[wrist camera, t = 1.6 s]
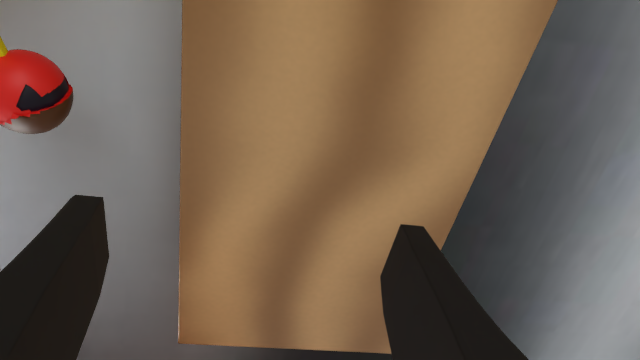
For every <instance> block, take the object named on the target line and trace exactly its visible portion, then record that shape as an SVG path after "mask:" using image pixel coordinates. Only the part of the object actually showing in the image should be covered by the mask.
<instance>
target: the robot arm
mask: <svg viewBox="0 0 640 360" xmlns="http://www.w3.org/2000/svg"><path fill="white" fill-rule="evenodd" d="M108 259H109V250H108V241H107V231H106V221H105V211H104V201H103V197H94V196H83V195H75V196H73V197H72V198H70V200H69V201H68V202H67V203H66V204H65V205H64V206H63V208H62V209H61V210H60V211H59V212H58V213H57V214H56V216H55V217H54V218H53V219H52V220H51V221H50V222H49V223H48V224H47V225H46V227H45V228H44V229H43V230H42V231H41V232H40V233H39V234H38V235H37V236H36V237H35V238H34V239H33V240H32V241H31V242H30V243H29V244H28V245H27V246H26V247H25V248H24V249H23V250H22V251H21V252H20V253H19V254H18V255H17V256H16V257H15V258H14V259H13V260H12V261H11V262H10V263H9V264H8V265H7V266H6V267H5V268H4V269H3V270H2V271H1V272H0V360H76V359H77V356H78V353H79V351H80V348H81V345H82V343H83V340H84V337H85V335H86V332H87V329H88V327H89V324H90V321H91V318H92V316H93V313H94V310H95V308H96V305H97V302H98V299H99V297H100V293H101V289H102V285H103V281H104V277H105V272H106V268H107V264H108ZM380 281H381V295H382V306H383V315H384V320H385V325H386V330H387V335H388V339H389V344H390V349H391V354H392V358H393V360H528V358H527V357H526V356H525V355H524V354H523V353H522V352H521V351H520V350H519V349H518V348H517V347H516V346H515V345H514V344H513V343H512V342H511V341H510V340H509V339H508V337H507V336H506V335H505V334H504V333H503V332H502V331H501V330H500V328H499V327H498V326H497V325H496V324H495V323H494V321H493V320H492V319H491V318H490V317H489V315H488V314H487V313H486V312H485V311H484V309H483V308H482V307H481V306H480V304H479V303H478V302H477V300H476V299H475V298H474V296H473V295H472V294H471V292H470V291H469V290H468V288H467V287H466V286H465V284H464V283H463V282H462V280H461V279H460V278H459V276H458V275H457V274H456V272H455V271H454V269H453V268H452V266H451V265H450V264H449V262H448V261H447V259H446V258H445V256H444V255H443V254H442V252H441V251H440V249H439V248H438V246H437V245H436V243H435V242H434V241H433V239H432V238H431V236H430V235H429V233H428V232H427V230H426V229H425V228H424V226H416V225H405V224H400V227H399V229H398V232H397V234H396V237H395V240H394V242H393V245H392V247H391V250H390V252H389V255H388V258H387V260H386V263H385V265H384V268H383V270H382V273H381V276H380Z"/></svg>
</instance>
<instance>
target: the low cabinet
mask: <svg viewBox="0 0 640 360" xmlns="http://www.w3.org/2000/svg"><path fill="white" fill-rule="evenodd" d="M557 1H558V0H182V67H181V147H180V227H179V308H178V343H179V344H200V345H221V346H242V347H263V348H285V349H306V350H327V351H349V352H370V353H391V349H390V344H389V339H388V335H387V330H386V325H385V320H384V315H383V306H382V295H381V281H380V276H381V273H382V270H383V268H384V265H385V263H386V260H387V258H388V255H389V252H390V250H391V247H392V245H393V242H394V240H395V237H396V234H397V232H398V229H399V227H400V224H405V225H416V226H424V228H425V229H426V230H427V232H428V233H429V235H430V236H431V238H432V239H433V241H434V242H435V243H436V245H437V246H438V248H439V249H440V251H441V248H442V246H443V244H444V242H445V240H446V238H447V236H448V234H449V231H450V229H451V227H452V225H453V223H454V221H455V219H456V217H457V214H458V212H459V210H460V208H461V206H462V204H463V202H464V199H465V197H466V195H467V193H468V191H469V189H470V187H471V185H472V182H473V180H474V178H475V176H476V174H477V172H478V170H479V167H480V165H481V163H482V161H483V159H484V157H485V155H486V153H487V150H488V148H489V146H490V144H491V142H492V140H493V138H494V136H495V133H496V131H497V129H498V127H499V125H500V123H501V121H502V118H503V116H504V114H505V112H506V110H507V108H508V106H509V104H510V101H511V99H512V97H513V95H514V93H515V91H516V89H517V87H518V84H519V82H520V80H521V78H522V76H523V74H524V72H525V69H526V67H527V65H528V63H529V61H530V59H531V57H532V55H533V52H534V50H535V48H536V46H537V44H538V42H539V40H540V37H541V35H542V33H543V31H544V29H545V27H546V25H547V23H548V20H549V18H550V16H551V14H552V12H553V10H554V8H555V6H556V3H557Z"/></svg>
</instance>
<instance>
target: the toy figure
mask: <svg viewBox="0 0 640 360" xmlns="http://www.w3.org/2000/svg"><path fill="white" fill-rule="evenodd" d="M72 103H73V88H72V87H71V85H69V83H68V81H67V79H66V77H65V76H64V74H63V73H62V71H61V70H60V69H59V68H58V67H57V66H56V65H55V64H54V63H53V62H52V61H51V60H49V59H48V58H46V57H44V56H42V55H40V54H38V53H35V52H32V51H27V50H18V49H17V50H9V51H8V50H7V48H6V46H5V45H4V43H3V41H2V39H1V37H0V125H1V126H3V127H5V128H7V129H9V130H12V131H15V132H18V133H23V134H37V133H44V132H47V131H50V130H52V129H53V128H55V127H57V126H58V125H60V124H61V123H62V122H63V121H64V120H65V118H66V117H67V116H68V114H69V112H70V110H71V106H72Z"/></svg>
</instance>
